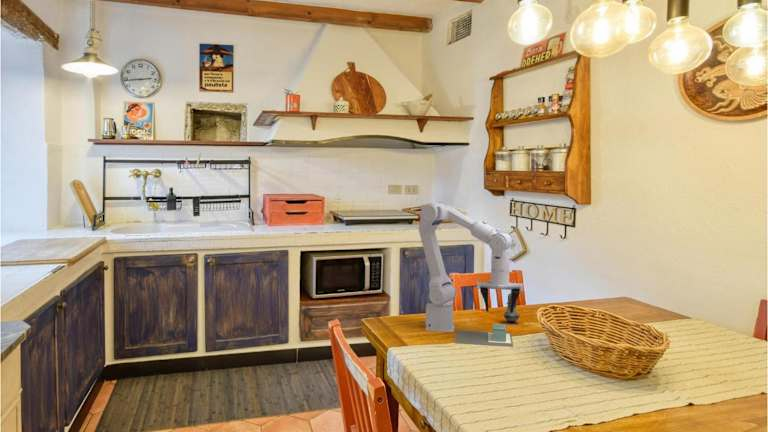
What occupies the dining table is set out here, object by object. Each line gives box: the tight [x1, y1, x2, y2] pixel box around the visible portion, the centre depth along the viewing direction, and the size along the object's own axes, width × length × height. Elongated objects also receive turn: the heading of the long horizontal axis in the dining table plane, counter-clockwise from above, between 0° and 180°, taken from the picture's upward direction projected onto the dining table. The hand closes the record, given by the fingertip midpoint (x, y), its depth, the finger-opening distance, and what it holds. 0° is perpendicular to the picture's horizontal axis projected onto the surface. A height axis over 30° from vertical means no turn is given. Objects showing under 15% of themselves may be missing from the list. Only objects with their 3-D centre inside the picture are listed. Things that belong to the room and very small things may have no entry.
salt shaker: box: [502, 293, 521, 326], centre depth 179 cm, size 6×6×12 cm
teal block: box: [492, 323, 507, 342], centre depth 161 cm, size 8×4×4 cm, turn 168°
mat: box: [454, 329, 514, 348], centre depth 161 cm, size 18×14×1 cm
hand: (499, 311), depth 161 cm, fingers open, 7 cm apart
